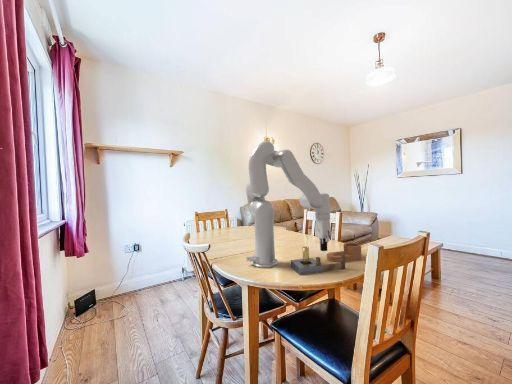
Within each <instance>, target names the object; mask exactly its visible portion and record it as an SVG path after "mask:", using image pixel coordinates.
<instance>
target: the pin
mask: <svg viewBox="0 0 512 384" xmlns="http://www.w3.org/2000/svg"><path fill="white" fill-rule="evenodd" d="M301 249H302V259H303V265H306V264H309V258H310V248H309V246H302V248H301Z"/></svg>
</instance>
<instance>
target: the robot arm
mask: <svg viewBox="0 0 512 384" xmlns="http://www.w3.org/2000/svg"><path fill="white" fill-rule="evenodd" d="M267 165H268V166H272V167H275V168H280V169H281V170H282V171H283V174H284V175H285V177H286V179H287V180H288V183H290V184H291V185H293V186H295V188H297V189H299V190H300V191H301V192H302V194H301V196H300V197H299V201H298V202H299V204H300V206H301V207H303V208H306V209H312V210H315V211H314V212H315V213H314V215H315V222H314V223H315V224H314V234H315V235H314V236H316V237H317V238H318V239H319V244H320V245H319V247H320V248H319V249H320V251H321V252H327V251H328V242H330V239H331V237H332V228H331V221H330V220H331V207H330V206H331V205H330V204H331V203H330V194H329V193H326V192H325V193H320V191H319V189H318V187H317V186H316V184H314V182H313V181H312V180H311V179H310V178H309V177H308V176H307V175H306V174H305V173H304V172H303V169H302V168H301V166H300V164H299V162H298V161H297V158H296V157H295V155H294V153H293V152H292V151H291V150H289V149H282V150H279V151H278V150H275V146H274V144H273V143H272V142H271V141H266V140H265V141H262V142H260V143H258V144H257V145H256V146H255V147H254V148H253V149H252V151H251V154H250V157H249V159H248V175H249V181H248V182H247V183H246V188H245V192H246V198H247V204H248V211H249V212H250V214H251V215H252V216H253V217H254V224H253V225H254V228H253V229H254V230H253V232H254V248H255V250H254V251H255V253H254V255H252V256H246V257H245V258H246V259H245V260H246V262H250V263H252V265H253V266H254V267H256V268H261V269H262V268H273V267H276V266H278V264H279V260H278V259H277V258H276V255H275V254H276V253H275V252H276V251H275V232H274V231H275V230H274V226H275V225H274V223H275V222H274V220H275V207H274V205H273V204H272V203H271V202H270V201H269V200H266V198H265V197H266V196H267V195H268V194H269V192H270V185H269V180H268V174H267Z"/></svg>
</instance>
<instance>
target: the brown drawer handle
mask: <svg viewBox="0 0 512 384" xmlns="http://www.w3.org/2000/svg"><path fill="white" fill-rule="evenodd" d="M340 259H341V262H334V263H329V264H322V263H321V257H320V256H316V257H315V260H316V265H321V264H322V265H323V272H327V271H329V272H330V271H335V270H346V268H347V267H346V262H345V255H343V254H342V255H340Z"/></svg>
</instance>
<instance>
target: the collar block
mask: <svg viewBox="0 0 512 384" xmlns="http://www.w3.org/2000/svg"><path fill="white" fill-rule="evenodd" d="M323 265H324V264H322V263H321V265H316V258H313V257H309V264H306V265H303V258H298V259H290V268H291V269H292V270H294V272H296V273H297V274H298V275H299V276H301V275H309V274H310V275H311V274H319V273H324V271H323Z"/></svg>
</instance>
